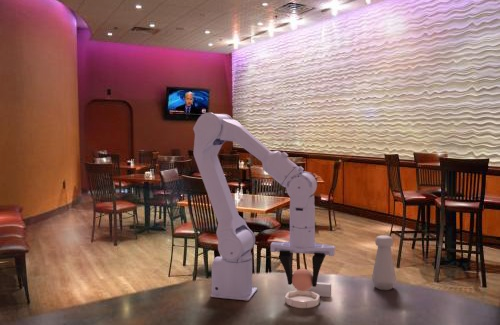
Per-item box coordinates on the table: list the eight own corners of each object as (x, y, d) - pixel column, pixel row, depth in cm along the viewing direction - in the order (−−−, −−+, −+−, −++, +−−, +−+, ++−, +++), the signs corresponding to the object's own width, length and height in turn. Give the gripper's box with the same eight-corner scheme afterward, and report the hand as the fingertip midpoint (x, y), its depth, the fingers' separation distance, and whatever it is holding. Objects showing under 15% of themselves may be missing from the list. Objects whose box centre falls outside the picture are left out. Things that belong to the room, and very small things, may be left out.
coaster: (282, 306, 104) (282, 300, 104) (289, 294, 111) (289, 289, 111) (316, 309, 102) (316, 303, 102) (321, 297, 109) (321, 291, 109)
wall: (297, 294, 112) (297, 281, 112) (298, 292, 113) (298, 280, 112) (330, 297, 109) (330, 284, 109) (331, 295, 110) (331, 283, 110)
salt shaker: (396, 292, 113) (397, 239, 112) (372, 290, 114) (373, 238, 113) (394, 284, 118) (395, 234, 117) (371, 282, 119) (371, 233, 119)
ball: (289, 293, 105) (289, 271, 105) (294, 286, 110) (293, 265, 109) (311, 294, 103) (311, 273, 103) (315, 287, 108) (314, 266, 108)
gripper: (267, 227, 104) (267, 287, 105) (332, 231, 100) (332, 292, 100) (274, 221, 110) (274, 277, 111) (335, 224, 106) (335, 282, 107)
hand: (302, 284), depth 106 cm, fingers closed on ball, 5 cm apart
